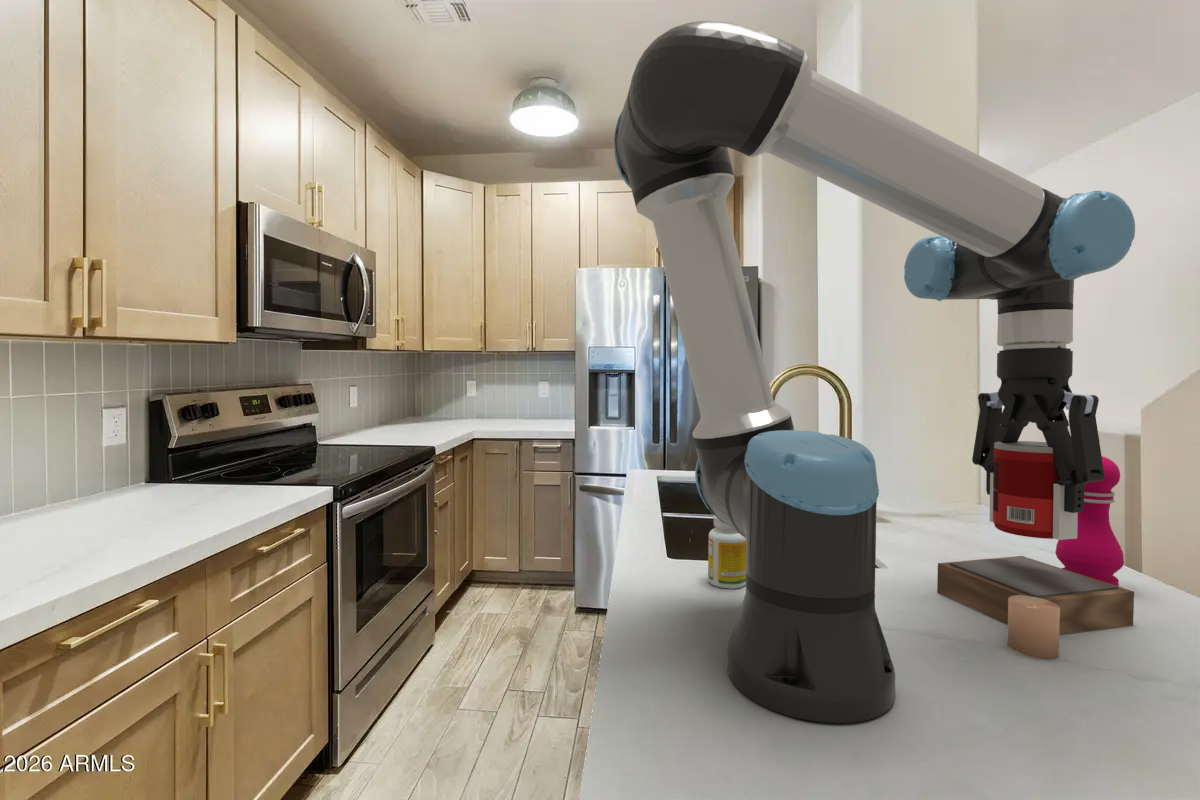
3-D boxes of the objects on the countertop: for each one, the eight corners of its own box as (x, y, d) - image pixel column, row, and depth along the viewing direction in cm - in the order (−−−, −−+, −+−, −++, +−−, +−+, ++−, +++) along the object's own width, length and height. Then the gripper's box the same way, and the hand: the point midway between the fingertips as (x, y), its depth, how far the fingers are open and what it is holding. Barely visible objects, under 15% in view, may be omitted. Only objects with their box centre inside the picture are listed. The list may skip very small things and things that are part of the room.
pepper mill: (1126, 600, 75) (1130, 447, 74) (1055, 588, 79) (1059, 444, 78) (1119, 584, 80) (1123, 442, 80) (1054, 574, 85) (1057, 439, 84)
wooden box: (1037, 637, 64) (1037, 599, 64) (937, 592, 78) (937, 561, 78) (1133, 625, 67) (1134, 589, 67) (1021, 583, 81) (1021, 554, 81)
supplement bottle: (700, 582, 82) (700, 515, 82) (724, 573, 85) (724, 510, 85) (730, 592, 78) (731, 522, 78) (754, 583, 81) (755, 516, 81)
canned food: (1086, 541, 68) (1088, 448, 67) (1010, 537, 69) (1012, 447, 69) (1049, 524, 75) (1051, 441, 75) (981, 522, 77) (983, 440, 76)
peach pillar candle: (1035, 661, 59) (1036, 613, 59) (997, 641, 63) (998, 597, 63) (1069, 656, 60) (1071, 609, 60) (1029, 637, 64) (1030, 593, 64)
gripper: (1153, 342, 62) (1148, 550, 63) (985, 351, 82) (983, 509, 83) (1099, 341, 60) (1094, 555, 61) (941, 351, 80) (940, 512, 81)
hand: (1030, 529), depth 72 cm, fingers closed on canned food, 8 cm apart
